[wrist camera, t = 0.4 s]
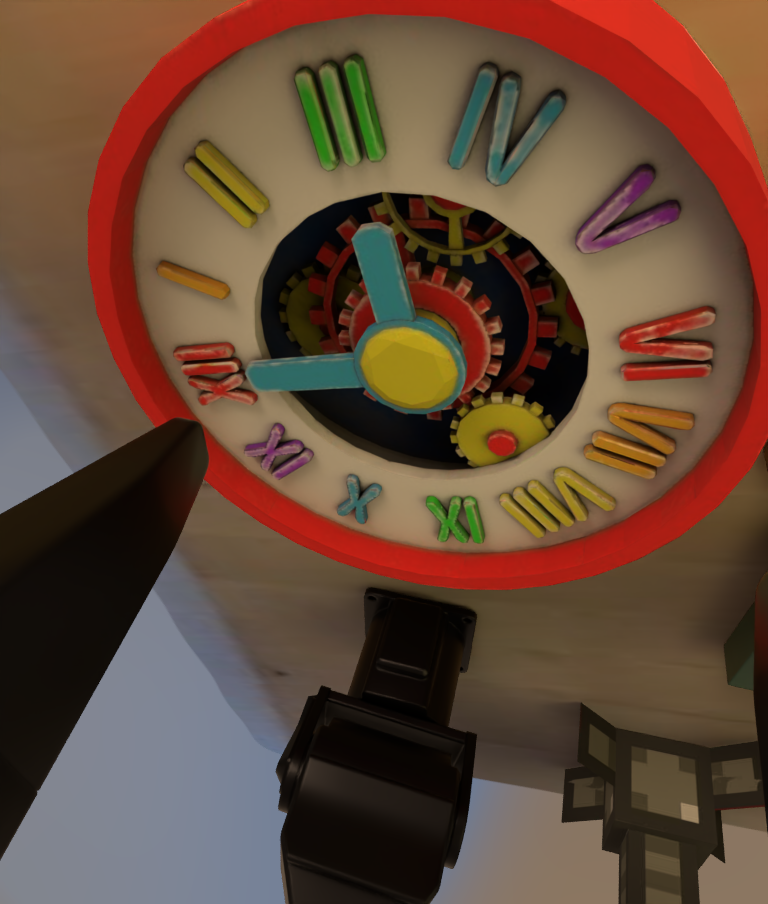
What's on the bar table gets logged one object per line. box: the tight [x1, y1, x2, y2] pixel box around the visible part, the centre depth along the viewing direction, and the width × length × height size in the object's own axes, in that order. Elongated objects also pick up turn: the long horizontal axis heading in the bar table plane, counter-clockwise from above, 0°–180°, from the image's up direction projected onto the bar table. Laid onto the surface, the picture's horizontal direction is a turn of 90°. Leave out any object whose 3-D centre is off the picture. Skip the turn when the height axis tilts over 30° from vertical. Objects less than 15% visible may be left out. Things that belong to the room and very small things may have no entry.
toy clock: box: [88, 0, 768, 590], centre depth 21 cm, size 20×6×20 cm
